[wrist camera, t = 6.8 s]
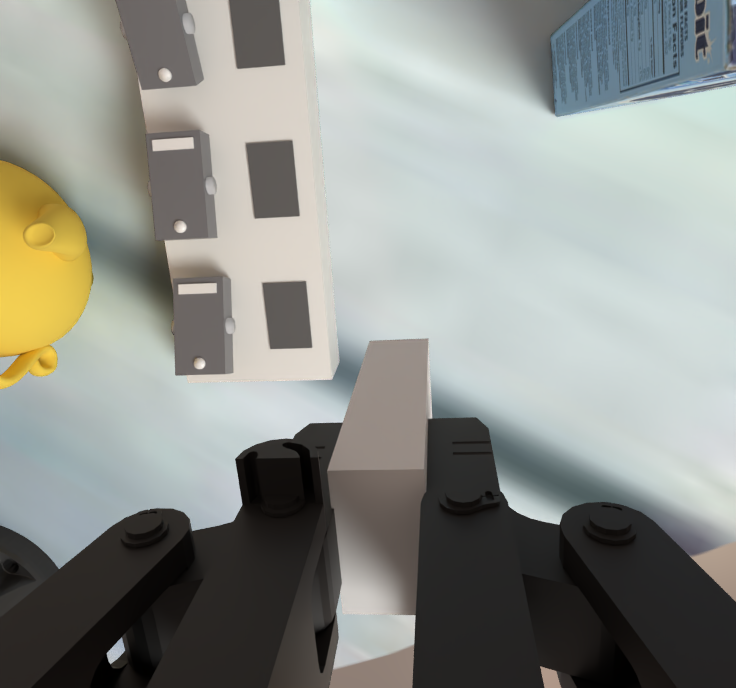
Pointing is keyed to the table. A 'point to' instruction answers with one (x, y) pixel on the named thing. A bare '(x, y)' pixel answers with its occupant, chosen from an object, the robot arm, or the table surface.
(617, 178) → the table surface
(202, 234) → the rocker
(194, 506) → the table surface
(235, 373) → the switch panel
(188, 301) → the block
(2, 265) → the teapot
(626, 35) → the gum box
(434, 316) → the table surface
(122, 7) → the rocker
